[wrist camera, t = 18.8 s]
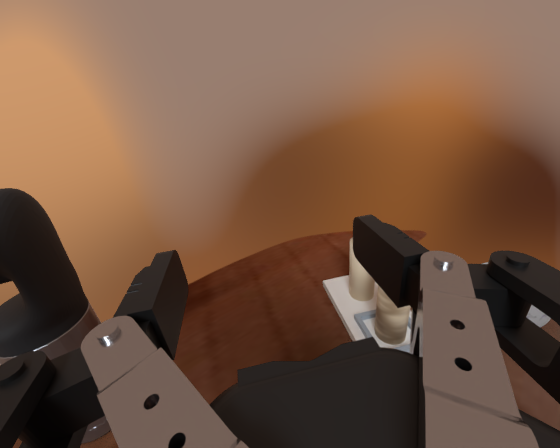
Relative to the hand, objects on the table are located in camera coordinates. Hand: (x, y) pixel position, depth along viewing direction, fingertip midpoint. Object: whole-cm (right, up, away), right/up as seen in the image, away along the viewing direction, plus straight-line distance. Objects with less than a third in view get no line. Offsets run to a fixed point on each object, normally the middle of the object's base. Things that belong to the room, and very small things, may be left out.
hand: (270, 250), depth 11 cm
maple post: (+19, -17, +31) cm, 40 cm away
